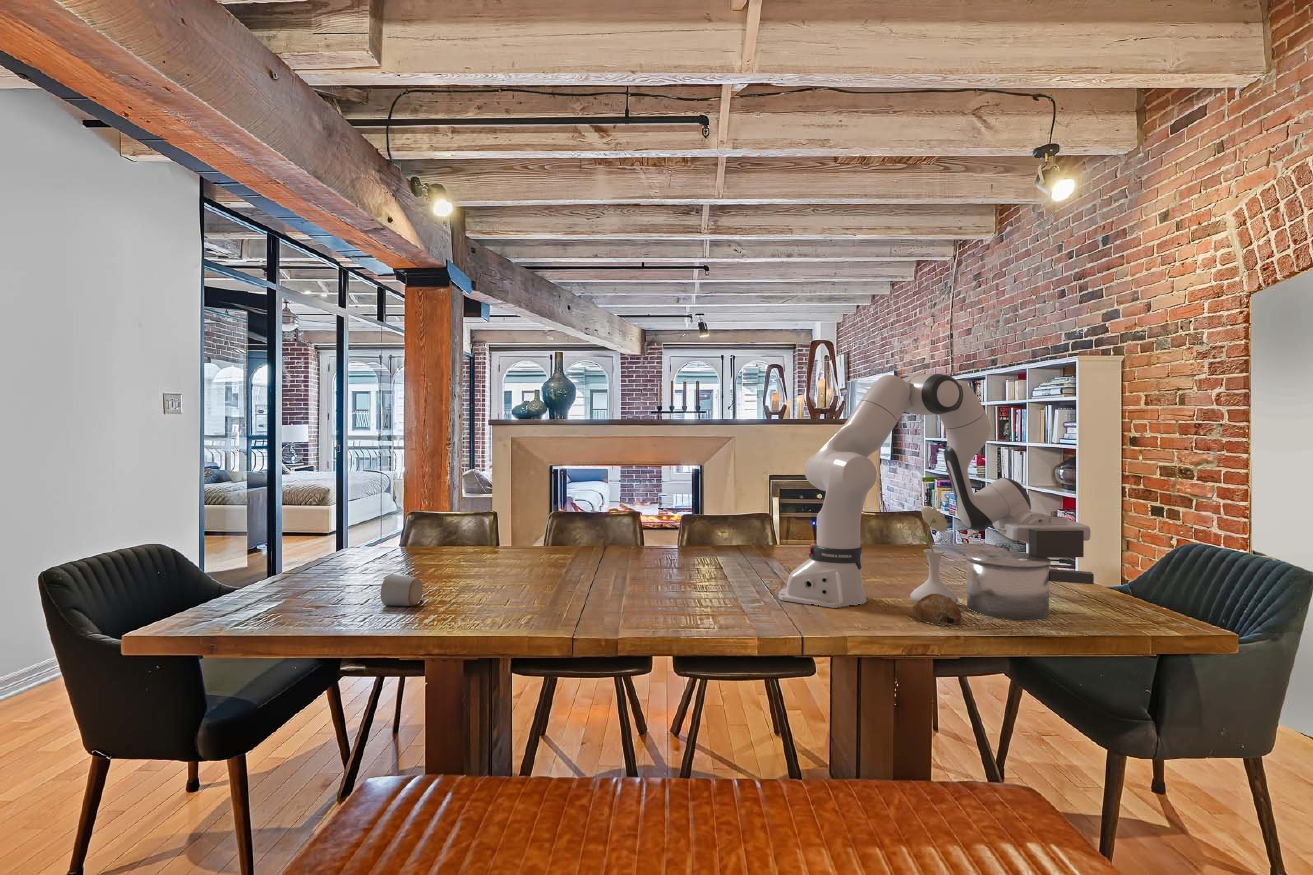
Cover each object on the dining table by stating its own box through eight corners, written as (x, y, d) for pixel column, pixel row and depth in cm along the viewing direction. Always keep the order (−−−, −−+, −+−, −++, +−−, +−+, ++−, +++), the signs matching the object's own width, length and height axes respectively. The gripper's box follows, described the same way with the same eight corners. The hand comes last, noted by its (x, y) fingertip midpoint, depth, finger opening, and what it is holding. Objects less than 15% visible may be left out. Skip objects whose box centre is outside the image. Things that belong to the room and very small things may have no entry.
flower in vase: (966, 610, 166) (966, 509, 165) (919, 610, 166) (920, 509, 166) (944, 597, 179) (944, 504, 178) (901, 597, 179) (901, 503, 179)
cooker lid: (991, 568, 156) (991, 536, 156) (951, 554, 175) (952, 525, 175) (1106, 567, 158) (1106, 535, 157) (1055, 553, 176) (1055, 524, 176)
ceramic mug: (410, 609, 166) (411, 578, 166) (379, 608, 167) (379, 577, 167) (429, 599, 176) (430, 570, 176) (400, 598, 177) (400, 569, 177)
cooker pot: (968, 615, 161) (969, 565, 161) (964, 598, 178) (965, 553, 178) (1101, 628, 151) (1101, 574, 151) (1083, 608, 168) (1084, 560, 167)
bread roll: (926, 641, 153) (937, 613, 150) (901, 611, 162) (910, 584, 159) (963, 637, 156) (974, 610, 152) (936, 608, 165) (946, 582, 161)
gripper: (995, 516, 182) (1023, 524, 168) (1070, 516, 182) (1104, 524, 168) (995, 540, 182) (1022, 549, 168) (1070, 540, 182) (1104, 549, 168)
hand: (1064, 536), depth 168 cm, fingers closed
